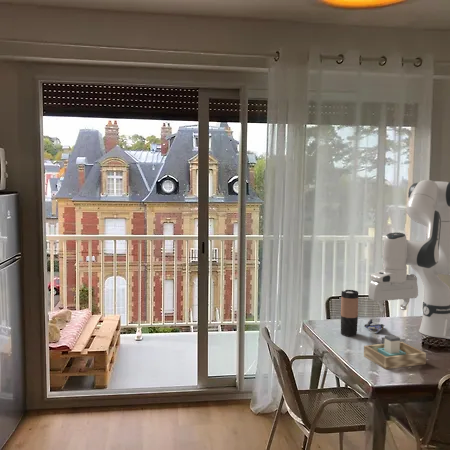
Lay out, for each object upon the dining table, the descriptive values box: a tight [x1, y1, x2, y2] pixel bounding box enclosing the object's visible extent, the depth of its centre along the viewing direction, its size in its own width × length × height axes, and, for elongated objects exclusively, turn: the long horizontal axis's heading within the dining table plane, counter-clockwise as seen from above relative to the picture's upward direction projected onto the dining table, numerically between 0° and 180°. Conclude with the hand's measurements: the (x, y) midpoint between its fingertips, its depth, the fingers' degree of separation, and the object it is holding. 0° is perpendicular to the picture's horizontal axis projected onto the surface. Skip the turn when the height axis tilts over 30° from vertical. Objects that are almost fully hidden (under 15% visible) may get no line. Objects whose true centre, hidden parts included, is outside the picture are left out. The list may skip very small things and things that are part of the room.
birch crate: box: [363, 342, 427, 370], centre depth 182 cm, size 18×14×4 cm
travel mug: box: [340, 289, 359, 337], centre depth 215 cm, size 8×8×20 cm
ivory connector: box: [384, 334, 400, 354], centre depth 181 cm, size 4×4×9 cm
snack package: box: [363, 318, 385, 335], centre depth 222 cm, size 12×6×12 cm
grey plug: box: [380, 335, 407, 344], centre depth 198 cm, size 9×4×4 cm, turn 107°
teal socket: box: [378, 348, 406, 357], centre depth 181 cm, size 7×7×4 cm
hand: (393, 310), depth 180 cm, fingers open, 8 cm apart
